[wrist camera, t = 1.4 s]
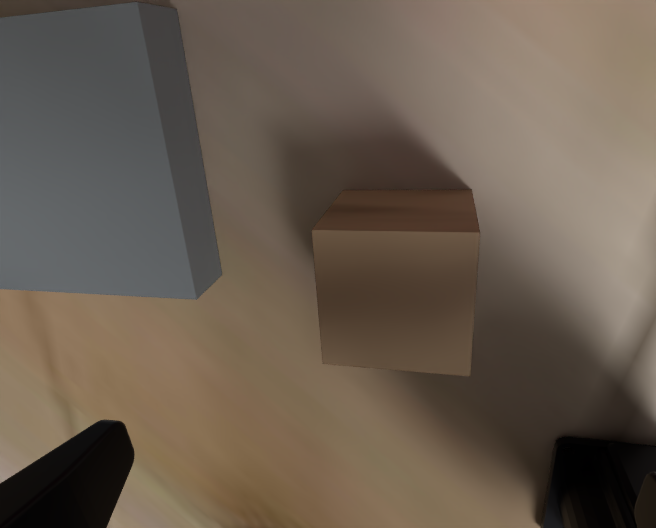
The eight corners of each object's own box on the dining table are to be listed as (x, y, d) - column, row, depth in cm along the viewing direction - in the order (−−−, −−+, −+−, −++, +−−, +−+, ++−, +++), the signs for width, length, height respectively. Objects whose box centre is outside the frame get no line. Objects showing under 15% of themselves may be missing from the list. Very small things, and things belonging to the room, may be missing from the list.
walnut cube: (464, 304, 20) (470, 376, 15) (349, 298, 21) (322, 363, 16) (471, 188, 18) (480, 232, 13) (343, 189, 19) (311, 229, 14)
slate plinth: (222, 274, 22) (196, 299, 19) (30, 267, 24) (-12, 288, 22) (176, 8, 17) (137, 1, 15) (-52, 34, 20) (-115, 30, 18)
